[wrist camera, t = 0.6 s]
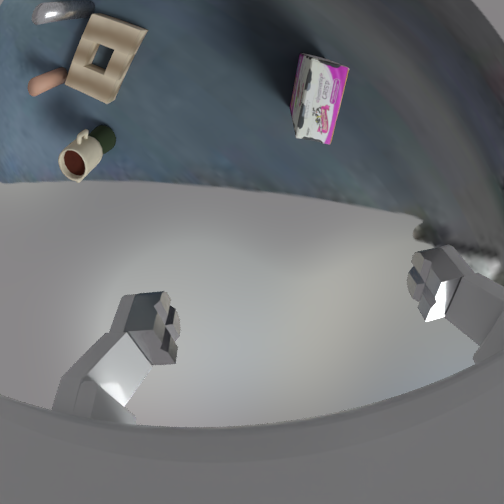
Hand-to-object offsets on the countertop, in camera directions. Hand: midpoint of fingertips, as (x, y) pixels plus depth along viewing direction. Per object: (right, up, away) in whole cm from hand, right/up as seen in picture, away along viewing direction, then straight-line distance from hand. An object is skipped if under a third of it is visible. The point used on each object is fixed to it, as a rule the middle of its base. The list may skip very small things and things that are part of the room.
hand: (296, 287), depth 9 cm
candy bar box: (+8, +30, +33) cm, 46 cm away
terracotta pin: (-42, +38, +31) cm, 65 cm away
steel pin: (-33, +48, +21) cm, 62 cm away
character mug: (-33, +26, +42) cm, 59 cm away
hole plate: (-29, +39, +29) cm, 56 cm away
